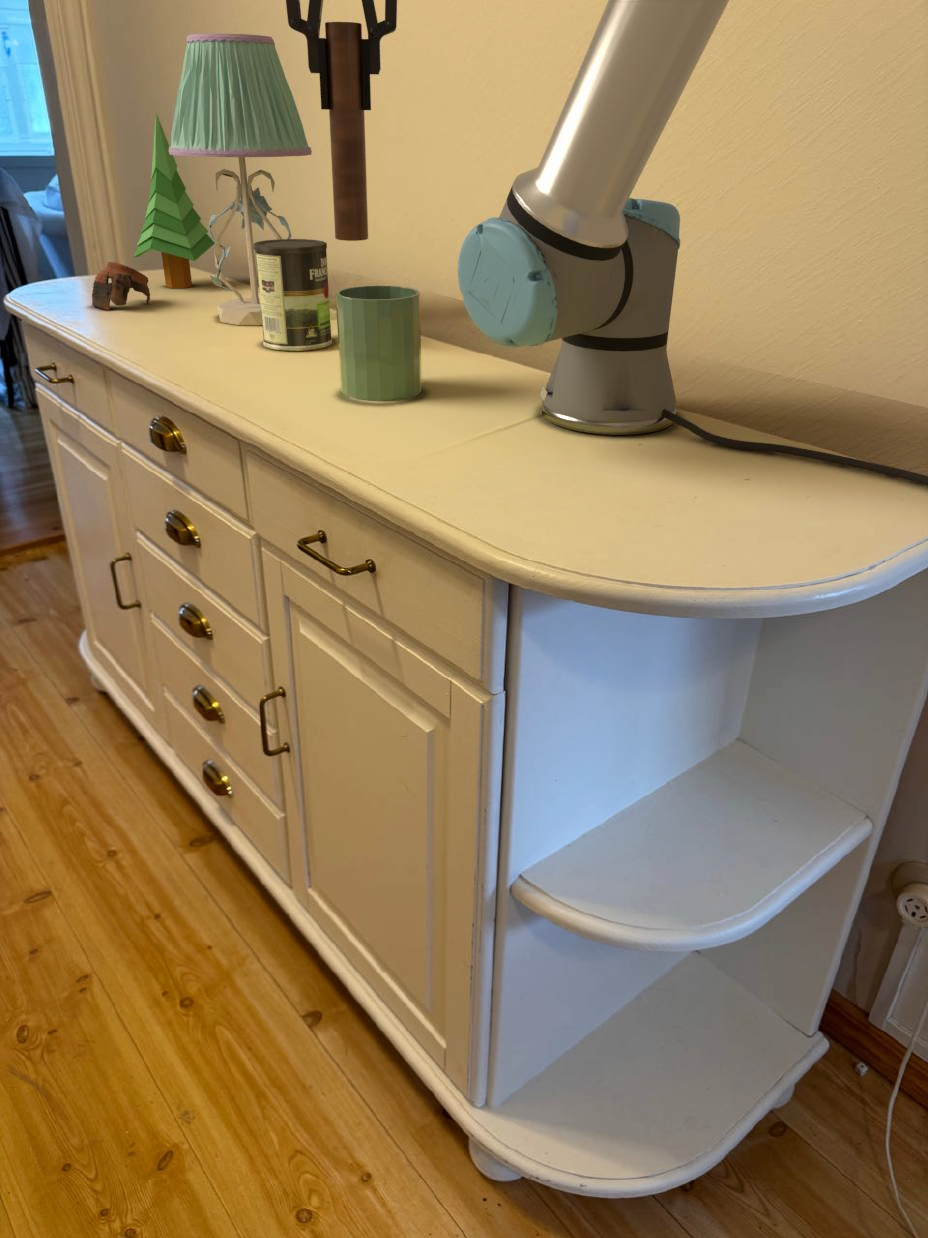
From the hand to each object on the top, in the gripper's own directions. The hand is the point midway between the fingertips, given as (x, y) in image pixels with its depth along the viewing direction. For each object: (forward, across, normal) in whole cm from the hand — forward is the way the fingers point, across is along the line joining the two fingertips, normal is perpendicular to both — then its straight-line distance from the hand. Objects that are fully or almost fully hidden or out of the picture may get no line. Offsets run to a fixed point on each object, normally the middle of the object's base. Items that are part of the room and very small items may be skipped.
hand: (346, 108), depth 100 cm
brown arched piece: (+32, +44, -57) cm, 78 cm away
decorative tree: (+32, +38, -78) cm, 92 cm away
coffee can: (+31, +10, -27) cm, 42 cm away
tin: (+31, -3, +2) cm, 31 cm away
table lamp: (+32, +19, -46) cm, 59 cm away
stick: (+13, 0, 0) cm, 13 cm away
